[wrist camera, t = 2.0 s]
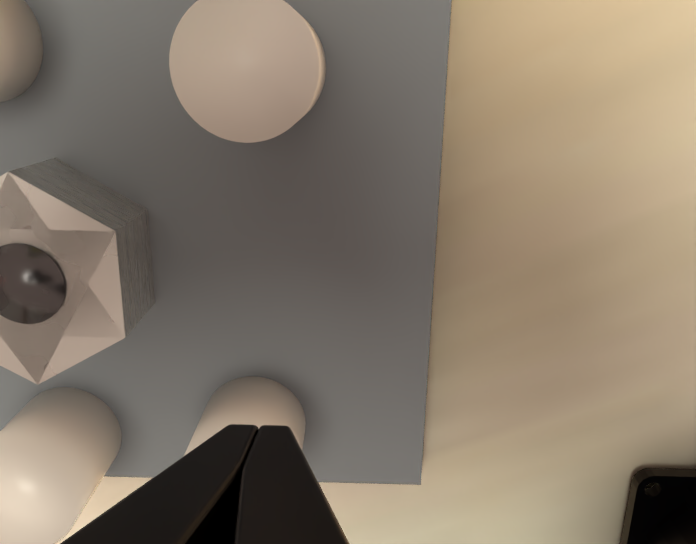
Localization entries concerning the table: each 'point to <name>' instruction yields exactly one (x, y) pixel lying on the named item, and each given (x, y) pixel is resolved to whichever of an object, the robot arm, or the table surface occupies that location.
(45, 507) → the spacers
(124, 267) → the star tealight holder
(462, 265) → the table surface
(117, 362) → the slate board
